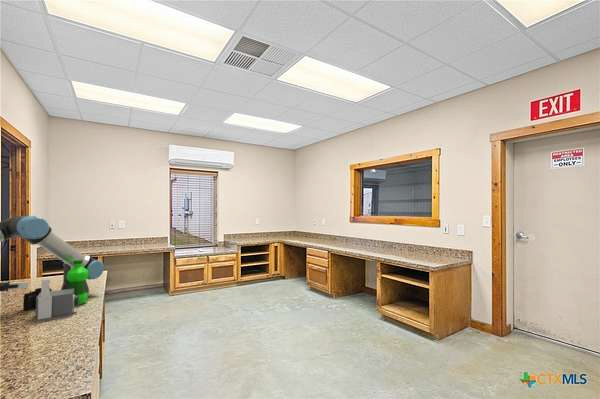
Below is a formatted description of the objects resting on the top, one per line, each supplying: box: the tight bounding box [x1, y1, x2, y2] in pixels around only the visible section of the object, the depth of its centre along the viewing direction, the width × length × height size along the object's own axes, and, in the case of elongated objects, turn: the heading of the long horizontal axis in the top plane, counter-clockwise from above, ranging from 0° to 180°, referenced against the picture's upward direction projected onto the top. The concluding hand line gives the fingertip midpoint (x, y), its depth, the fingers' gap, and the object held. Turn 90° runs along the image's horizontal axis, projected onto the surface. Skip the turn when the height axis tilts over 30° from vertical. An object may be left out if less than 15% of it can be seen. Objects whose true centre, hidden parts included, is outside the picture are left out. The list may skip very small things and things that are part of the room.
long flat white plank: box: [38, 278, 52, 320], centre depth 147 cm, size 1×5×18 cm, turn 123°
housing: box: [35, 289, 80, 323], centre depth 155 cm, size 13×16×11 cm
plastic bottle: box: [67, 260, 89, 306], centre depth 173 cm, size 10×10×25 cm
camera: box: [22, 287, 53, 312], centre depth 167 cm, size 14×11×10 cm
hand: (27, 284), depth 144 cm, fingers closed
